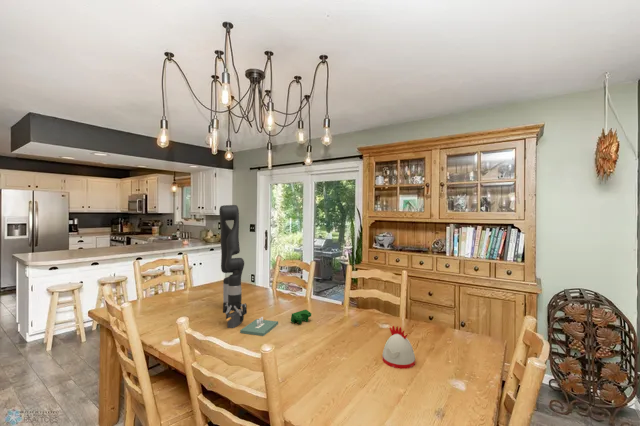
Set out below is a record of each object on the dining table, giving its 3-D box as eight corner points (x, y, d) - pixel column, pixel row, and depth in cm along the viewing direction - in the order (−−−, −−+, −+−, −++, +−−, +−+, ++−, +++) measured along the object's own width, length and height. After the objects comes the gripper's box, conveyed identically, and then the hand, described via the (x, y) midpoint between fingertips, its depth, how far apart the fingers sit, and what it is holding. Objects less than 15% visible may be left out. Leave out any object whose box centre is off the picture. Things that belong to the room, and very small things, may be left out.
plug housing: (236, 322, 182) (236, 310, 182) (241, 322, 181) (241, 310, 181) (223, 329, 170) (223, 317, 170) (229, 330, 169) (229, 318, 169)
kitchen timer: (391, 350, 146) (391, 319, 146) (419, 359, 137) (420, 325, 137) (376, 361, 135) (377, 327, 135) (406, 372, 126) (407, 335, 126)
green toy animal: (298, 331, 179) (295, 320, 175) (292, 326, 183) (289, 315, 179) (313, 319, 186) (311, 308, 182) (307, 315, 190) (304, 303, 186)
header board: (256, 321, 183) (256, 312, 183) (278, 324, 179) (278, 314, 179) (240, 332, 166) (240, 322, 166) (263, 336, 162) (263, 325, 162)
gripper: (249, 292, 179) (249, 320, 179) (227, 290, 183) (227, 317, 183) (242, 295, 172) (242, 324, 172) (220, 293, 176) (220, 322, 176)
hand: (234, 321), depth 177 cm, fingers open, 8 cm apart
